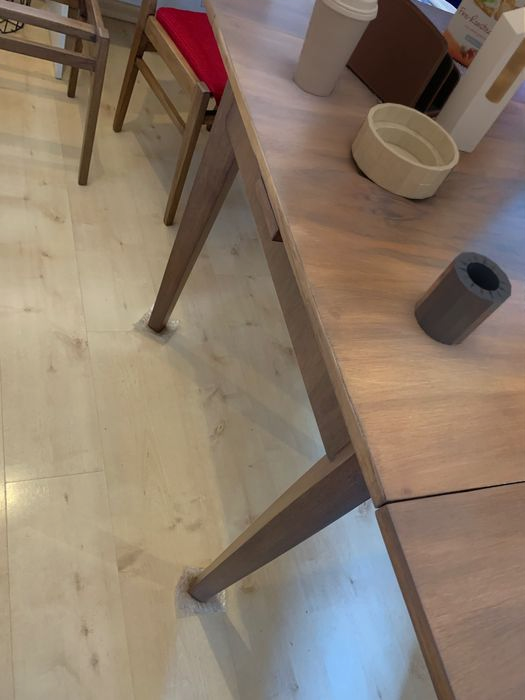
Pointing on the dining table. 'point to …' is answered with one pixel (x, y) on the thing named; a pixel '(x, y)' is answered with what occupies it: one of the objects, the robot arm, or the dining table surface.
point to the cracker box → (475, 26)
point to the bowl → (404, 151)
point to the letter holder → (405, 58)
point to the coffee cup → (331, 42)
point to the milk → (483, 84)
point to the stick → (507, 75)
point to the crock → (462, 298)
